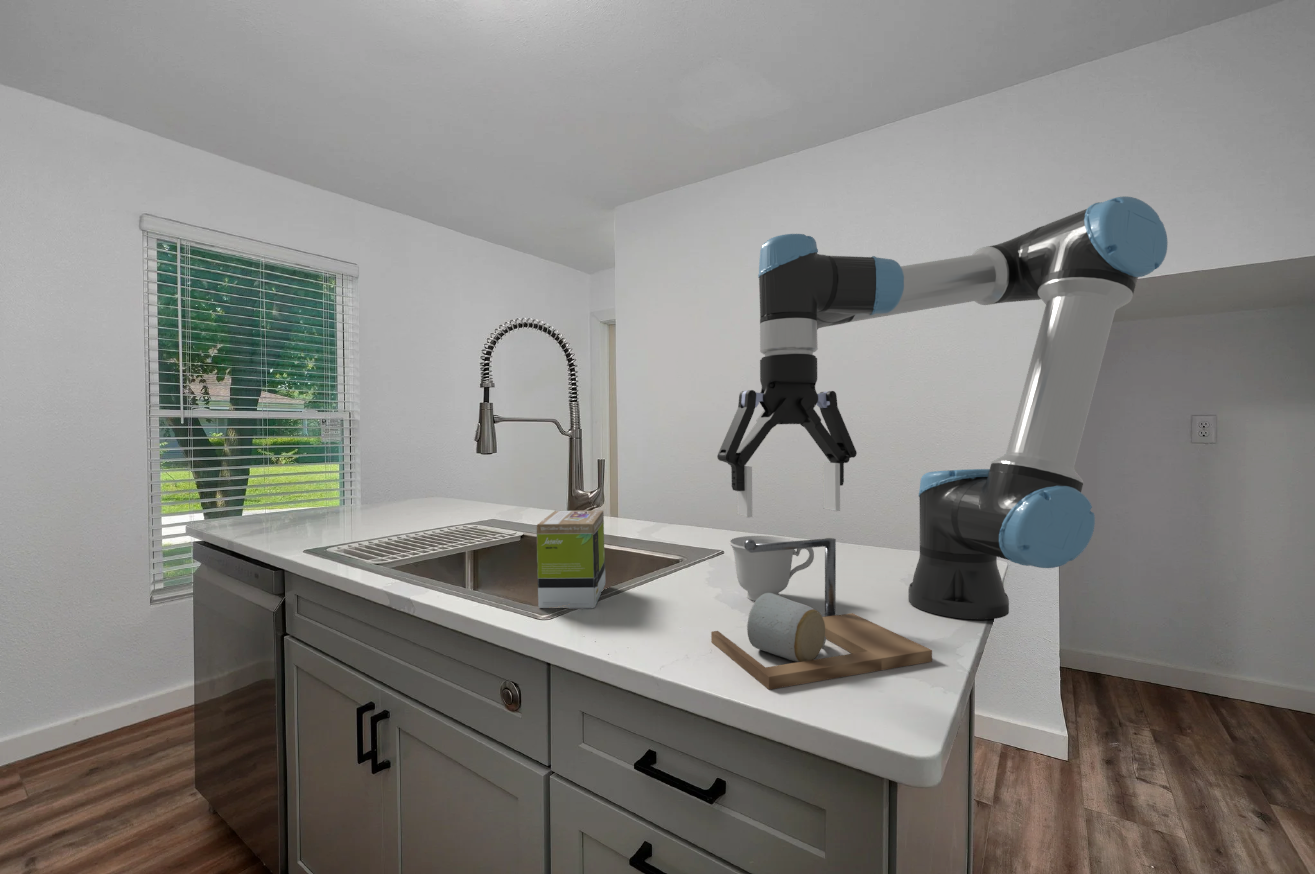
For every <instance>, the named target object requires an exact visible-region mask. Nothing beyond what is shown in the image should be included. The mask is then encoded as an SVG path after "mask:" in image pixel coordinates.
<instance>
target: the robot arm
mask: <svg viewBox="0 0 1315 874" xmlns="http://www.w3.org/2000/svg"><path fill="white" fill-rule="evenodd" d="M1168 243H1169V242H1168V235H1167V231H1166V228H1165V224H1164V223H1163V222H1162V220H1161V219H1160V216H1159V214H1158V212H1156V210H1155V209H1154V208H1152V206H1151V205H1149V204H1148V203H1146V202H1145V201H1143V200H1141V199H1139V198H1136V197H1133V196H1117V197H1113V198H1110V199H1107V200H1105V201H1101V202H1095V203H1093V204H1091V205H1089V206H1088V207H1087V208H1086V209H1083V210H1080V211H1077V212H1074V213H1072V214H1070V215H1068V216H1065V217H1062V218H1059V219H1056V220H1053V221H1052V222H1049V223H1047V224H1045V225H1042V226H1039V227H1037V228H1034V229H1033V230H1030V231H1028V232H1025V233H1023V234H1021V235H1018V236H1016V237H1014V238H1012V239H1010V240H1006V241H1004V242H1001V243H998V244H994V245H993V244H992V245H990V246H989V245H988V246H982V247H980V248H978V249H977V250H975V251H974V252H973V253H971V255H965V256H959V257H957V256H956V257H952V258H945V259H939V260H933V261H927V262H920V263H913V264H907V265H901V264H899V262H898V261H897V260H894V259H891V258H886V257H885V258H884V257H883V258H882V257H878V256H874V255H872V256H851V255H850V256H847V255H826V254H820V253H819V249H818V246H817V241H816V239H815V237H813V236H812V235H806V234H803V233H785V234H781V235H776V236H773V237H771V238H769V239H768V240H767V241H765V242H764V243H763V244H762V246H761V247H760V253H759V263H758V265H759V266H758V275H757V277H758V285H759V286H758V288H759V316H760V317H759V350H760V351H759V352H760V353H761V354H762V355H764V356H763V357H761V359H760V360H759V378H760V379H759V380H760V385H761V390H760V392H758V391H757V392H756V391H755V390H753V389H751V390H750V389H748V390H742V391H740V392H739V394H738V407H737V409H736V412H735V414H734V416H733V418H732V420H731V423H730V426H729V427H728V430H727V433H726V435H725V437H724V439H723V442H722V443H721V446H720V449H719V450H718V452H717V460H718V461H719V462H724V463H727V464H728V465H729V466H730V470H731V488H732V491H735V492H736V493H737V494H736V497H737V498H736V499H737V500H736V503H737V504H736V505H737V506H736V507H737V509H736V510H737V513H736V514H737V515H738V516H740V517H744V518H753V466H746V465H747V463H748V462H749V461H750V459H751V458H752V457H753V456H754V454H755V452H756V451H757V450H758V448H759V447H760V445H761V444H762V443H763V441H764V440H765V439H766V438H767V436H768V435H769V433H770V432H771V431H772V429H774V427H776V426H777V425H800V426H801V427H803V428H804V429H805V430H806V431H807V432H808V434H809V435H810V437H811V438H812V440H813V441H814V443H816V445H817V446H818V448H819V449H820V450H821V452H822V453H823V455H824V456H825V457H826V459H827V460H828V461H829V462H827V461H825V462H824V461H823V463H822V468H823V469H822V470H823V471H822V476H823V479H822V484H823V487H822V488H823V493H822V494H823V497H822V498H823V509H825V510H829V511H834V512H841V486H844V483H845V480H844V479H845V478H844V476H845V470H844V469H845V467H844V466H845V464H848V463H849V462H850V458H855V457H857V453H858V452H857V450H856V447H855V445H854V442H853V440H852V438H851V435H850V433H849V431H848V429H847V426H846V423H845V421H844V419H843V416H842V413H841V412H840V409H839V406H838V399H837V398H838V397H837V393H836V392H835V391H834V390H829V391H821V392H819V393H818V392H817V390H816V384H817V382H818V358H817V356H816V355H814V353H815V352H817V350H818V349H819V348H818V330H819V329H821V328H825V327H832V326H838V325H843V324H848V323H852V322H860V321H865V320H870V319H877V318H882V317H883V318H884V317H888V316H893V315H895V316H896V315H901V314H905V313H906V314H907V313H912V312H918V311H923V310H925V311H926V310H929V309H935V308H941V307H942V308H943V307H946V306H947V307H948V306H953V305H958V304H966V303H971V302H975V303H977V304H978V305H981V306H990V305H995V304H996V305H997V304H1003V303H1013V302H1014V303H1015V302H1025V301H1026V302H1028V301H1039V300H1040V301H1043V303H1044V304H1045V306H1044V307H1045V308H1044V311H1043V315H1042V319H1041V322H1040V325H1039V326H1040V327H1039V329H1038V333H1037V336H1036V341H1035V344H1034V348H1033V351H1032V354H1031V355H1032V356H1031V358H1030V363H1029V365H1028V366H1029V367H1028V370H1027V373H1026V378H1025V382H1024V385H1023V389H1022V392H1021V396H1020V400H1019V402H1018V403H1019V404H1018V407H1017V411H1016V415H1015V418H1014V422H1013V425H1012V429H1011V433H1010V436H1009V437H1010V438H1009V440H1008V445H1007V449H1006V452H1005V454H1004V455H1002V456H999V458H997V459H995V460H993V461H991V463H990V467H989V468H972V469H954V470H949V469H948V470H937V471H928V472H926V473H924V474H923V475H922V476H921V478H920V482H919V490H918V491H919V492H918V499H919V557H918V561H917V563H916V568H915V571H914V575H913V579H912V582H911V583H910V584H909V586H908V592H907V593H908V603H910V605H912V606H914V607H915V608H917V609H919V610H921V611H924V612H927V613H931V614H935V615H938V616H941V617H942V616H943V617H949V618H953V619H955V618H956V619H963V620H980V621H981V620H996V619H1001V618H1005V617H1006V616H1008V615H1009V614H1010V601H1009V600H1010V599H1009V596H1008V594H1007V593H1006V592H1005V588H1004V584H1003V580H1002V579H1003V578H1002V577H1001V573H1000V569H999V568H998V562H997V561H998V559H997V558H1000V559H1005V560H1007V561H1010V562H1011V563H1014V564H1018V565H1021V566H1026V567H1030V566H1031V567H1035V568H1039V569H1055V568H1059V567H1063V566H1064V565H1066V564H1068V562H1071V561H1074V560H1075V559H1077V558H1078V556H1080V555H1081V554H1082V553H1083V552H1084V550H1085V549H1086V548H1087V547H1088V545H1089V543H1090V541H1091V539H1092V537H1093V534H1094V530H1095V527H1096V525H1095V524H1096V517H1095V513H1094V512H1093V511H1091V510H1092V508H1093V506H1092V504H1091V501H1090V500H1089V499H1088V497H1087V496H1086V495H1085V494H1083V493H1082V490H1083V486H1084V480H1083V479H1082V477H1081V476H1080V475H1079V473H1077V471H1076V468H1075V466H1076V465H1075V464H1076V463H1077V462H1076V461H1077V457H1078V454H1079V450H1080V447H1081V443H1082V439H1083V435H1084V432H1085V427H1086V423H1087V419H1088V416H1089V412H1090V409H1091V405H1092V401H1093V398H1094V397H1093V396H1094V392H1095V389H1096V386H1097V382H1098V378H1099V374H1100V371H1101V367H1102V362H1103V360H1104V356H1105V352H1106V348H1107V343H1108V341H1109V336H1110V332H1111V329H1112V325H1113V321H1114V318H1115V314H1116V310H1119V309H1120V308H1122V307H1124V306H1126V305H1127V304H1129V303H1130V302H1131V301H1132V300H1133V297H1134V293H1135V289H1136V286H1137V283H1138V278H1140V277H1141V278H1142V277H1145V276H1147V275H1150V274H1151V273H1152V272H1154V271H1155V270H1157V269H1159V268H1160V267H1161V265H1162V264H1163V262H1164V260H1165V258H1166V256H1167V252H1168ZM758 405H761V408H762V409H763V411H761V413H760V415H759V416H758V418H757V419H756V423H754V426H753V427H752V428H751V429H750V431H749V432H748V434H747V435H746V436H745V433H746V431H747V429H748V428H749V425H750V422H751V420H752V418H753V415H754V412H755V410H756V408H757V407H758ZM816 406H817V407H818V408H819V411H820V414H821V416H822V418H823V419H822V418H821V417H820V416H819V414H818V413H817V411H816V410H815V407H816ZM822 420H823V421H824V423H825V425H826V427H827V428H826V427H825V426H824V425H823V423H822ZM744 436H745V438H744ZM743 438H744V439H743Z"/></svg>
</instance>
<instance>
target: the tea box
mask: <svg viewBox="0 0 1315 874" xmlns="http://www.w3.org/2000/svg"><path fill="white" fill-rule="evenodd" d="M604 517H605V516H604V510H554V511H553V512H552V513H550V514H549V515H548V516H546V517H545V518H544V519H542V520H541V521H540V522H539V523H537V524H536V563H537V571H536V572H537V601H538V603H537V605H538V606H537V607H538V608H539V609H540V608H549V607H558V606H562V605H567V606H564V607H568V608H569V609H574V610H575V609H577V610H578V609H595V608H596V606H597V603H598V601H599V599H600V597H601V594H602V593H601V592H603V589H604V588H605V586H606V559H605V558H606V557H605V556H606V555H605V526H604V525H605V521H604ZM568 604H570V605H568ZM560 608H563V607H560ZM569 609H568V610H569Z"/></svg>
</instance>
